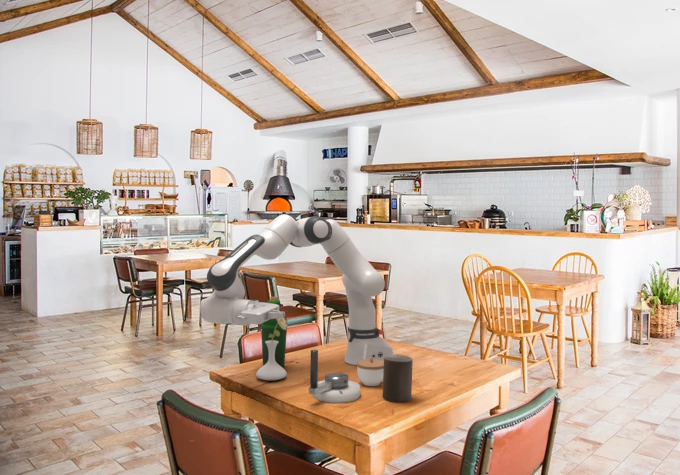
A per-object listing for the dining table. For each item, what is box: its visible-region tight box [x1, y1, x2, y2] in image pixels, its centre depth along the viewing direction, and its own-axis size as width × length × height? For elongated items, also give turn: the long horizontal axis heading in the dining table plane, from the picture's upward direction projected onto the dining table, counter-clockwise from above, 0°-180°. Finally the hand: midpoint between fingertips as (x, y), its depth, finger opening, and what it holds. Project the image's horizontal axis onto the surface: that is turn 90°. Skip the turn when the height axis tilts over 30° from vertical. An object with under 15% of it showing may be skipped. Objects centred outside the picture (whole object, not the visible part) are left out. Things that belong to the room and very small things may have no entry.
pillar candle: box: [382, 353, 413, 403], centre depth 195 cm, size 10×10×15 cm
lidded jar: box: [356, 358, 384, 387], centre depth 210 cm, size 11×11×9 cm
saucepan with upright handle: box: [308, 349, 349, 396], centre depth 193 cm, size 17×8×14 cm, turn 143°
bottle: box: [260, 296, 288, 369], centre depth 229 cm, size 11×11×28 cm
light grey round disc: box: [312, 379, 361, 404], centre depth 197 cm, size 16×16×3 cm
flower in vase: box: [255, 317, 288, 381], centre depth 215 cm, size 13×11×25 cm
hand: (283, 315), depth 196 cm, fingers closed
